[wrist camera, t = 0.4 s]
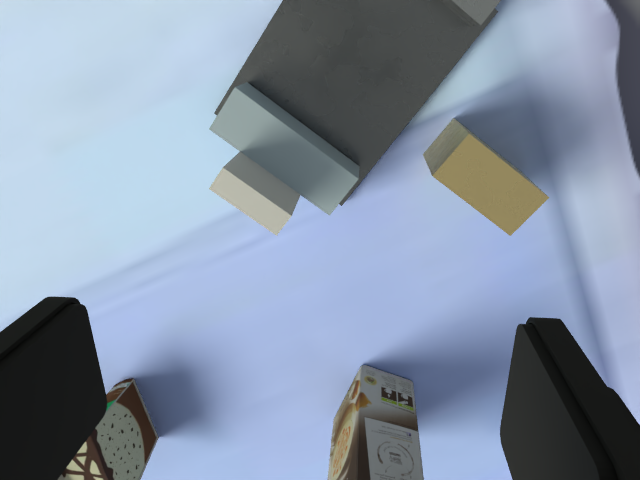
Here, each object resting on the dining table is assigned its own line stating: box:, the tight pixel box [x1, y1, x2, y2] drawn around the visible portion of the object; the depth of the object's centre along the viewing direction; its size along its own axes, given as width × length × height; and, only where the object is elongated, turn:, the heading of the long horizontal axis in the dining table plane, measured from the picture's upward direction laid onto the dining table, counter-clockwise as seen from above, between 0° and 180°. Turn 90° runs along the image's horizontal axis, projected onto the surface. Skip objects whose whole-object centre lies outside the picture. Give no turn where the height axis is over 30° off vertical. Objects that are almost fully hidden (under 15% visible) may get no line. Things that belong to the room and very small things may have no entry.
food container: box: [58, 378, 159, 480], centre depth 54 cm, size 12×6×10 cm, turn 11°
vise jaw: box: [209, 82, 360, 236], centre depth 38 cm, size 12×6×9 cm, turn 54°
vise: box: [214, 0, 501, 206], centre depth 38 cm, size 14×20×5 cm
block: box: [423, 118, 549, 236], centre depth 39 cm, size 8×4×7 cm, turn 54°
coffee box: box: [328, 365, 424, 480], centre depth 47 cm, size 9×6×16 cm
